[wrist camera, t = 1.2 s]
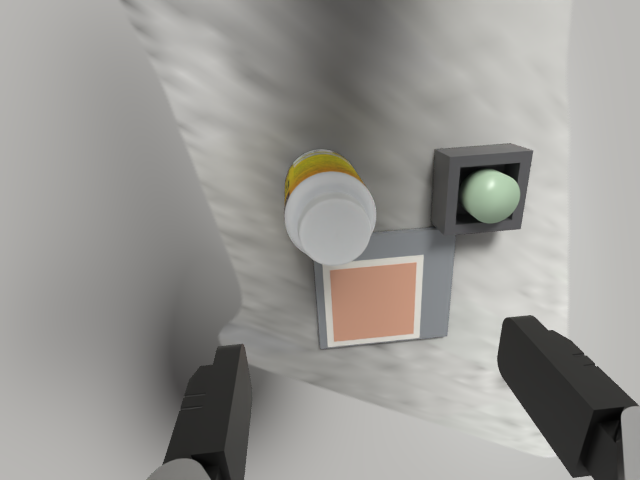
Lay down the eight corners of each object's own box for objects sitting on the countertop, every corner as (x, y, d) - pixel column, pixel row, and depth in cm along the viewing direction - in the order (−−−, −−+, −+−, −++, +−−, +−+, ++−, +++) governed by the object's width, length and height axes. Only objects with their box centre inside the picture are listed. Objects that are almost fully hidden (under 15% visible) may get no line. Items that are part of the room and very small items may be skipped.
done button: (460, 169, 28) (472, 176, 26) (508, 166, 28) (523, 172, 27) (456, 216, 30) (467, 225, 28) (502, 212, 30) (516, 221, 28)
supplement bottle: (275, 158, 29) (270, 199, 20) (346, 139, 29) (375, 170, 20) (295, 225, 31) (299, 290, 22) (362, 207, 31) (394, 264, 22)
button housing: (435, 149, 30) (450, 157, 27) (510, 143, 30) (533, 150, 27) (430, 221, 32) (444, 235, 29) (500, 215, 32) (520, 228, 30)
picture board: (311, 237, 32) (312, 241, 31) (453, 225, 32) (457, 228, 32) (319, 345, 36) (320, 350, 36) (444, 332, 37) (447, 337, 36)
